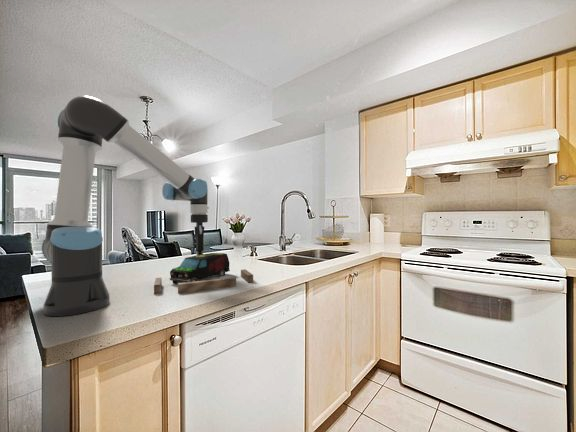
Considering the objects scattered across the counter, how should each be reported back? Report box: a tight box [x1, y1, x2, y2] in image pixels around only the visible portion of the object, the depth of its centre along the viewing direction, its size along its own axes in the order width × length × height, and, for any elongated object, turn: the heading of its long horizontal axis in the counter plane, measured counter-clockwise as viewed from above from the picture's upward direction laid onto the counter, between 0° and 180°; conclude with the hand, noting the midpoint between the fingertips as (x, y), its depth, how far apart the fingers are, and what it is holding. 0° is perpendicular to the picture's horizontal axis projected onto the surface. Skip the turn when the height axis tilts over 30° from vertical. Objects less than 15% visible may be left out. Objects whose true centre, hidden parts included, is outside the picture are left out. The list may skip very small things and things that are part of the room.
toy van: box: [169, 252, 230, 284], centre depth 111 cm, size 11×25×10 cm, turn 153°
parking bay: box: [153, 269, 254, 295], centre depth 101 cm, size 35×15×3 cm, turn 114°
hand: (199, 265), depth 121 cm, fingers closed
